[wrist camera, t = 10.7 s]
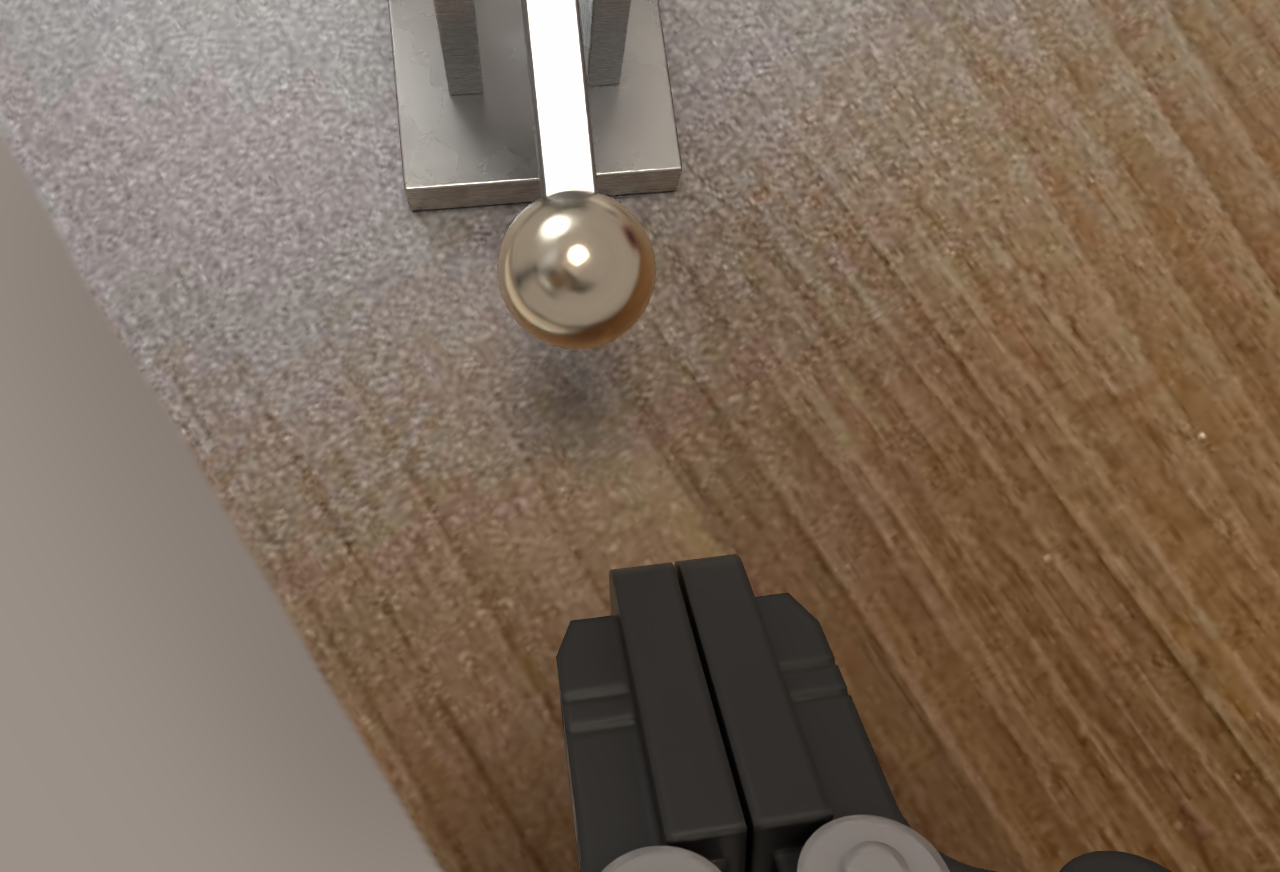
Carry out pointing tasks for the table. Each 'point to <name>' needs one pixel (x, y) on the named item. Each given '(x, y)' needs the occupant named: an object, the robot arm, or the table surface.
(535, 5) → the flush lever
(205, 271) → the table surface
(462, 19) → the bracket
